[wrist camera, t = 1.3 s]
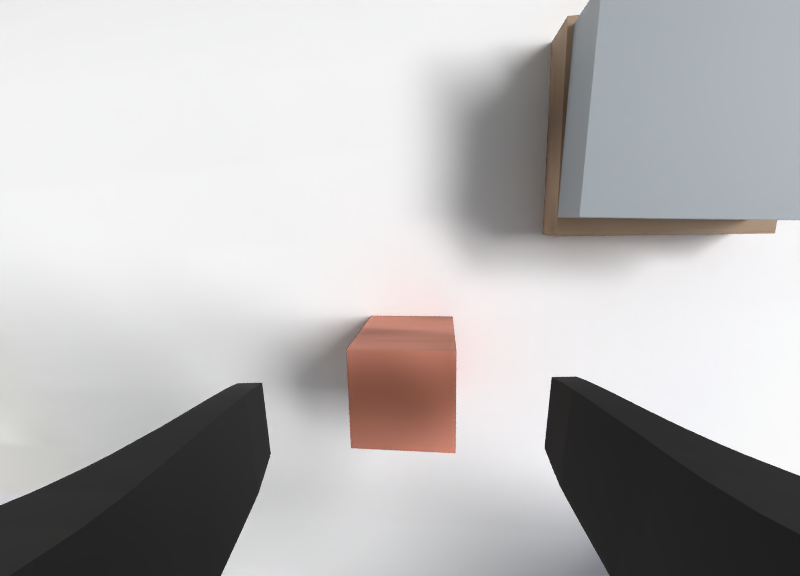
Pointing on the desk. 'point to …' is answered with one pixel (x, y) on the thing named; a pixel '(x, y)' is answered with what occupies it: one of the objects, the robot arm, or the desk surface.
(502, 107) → the desk surface
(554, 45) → the walnut slab
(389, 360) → the red block
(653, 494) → the robot arm
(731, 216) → the grey slab
